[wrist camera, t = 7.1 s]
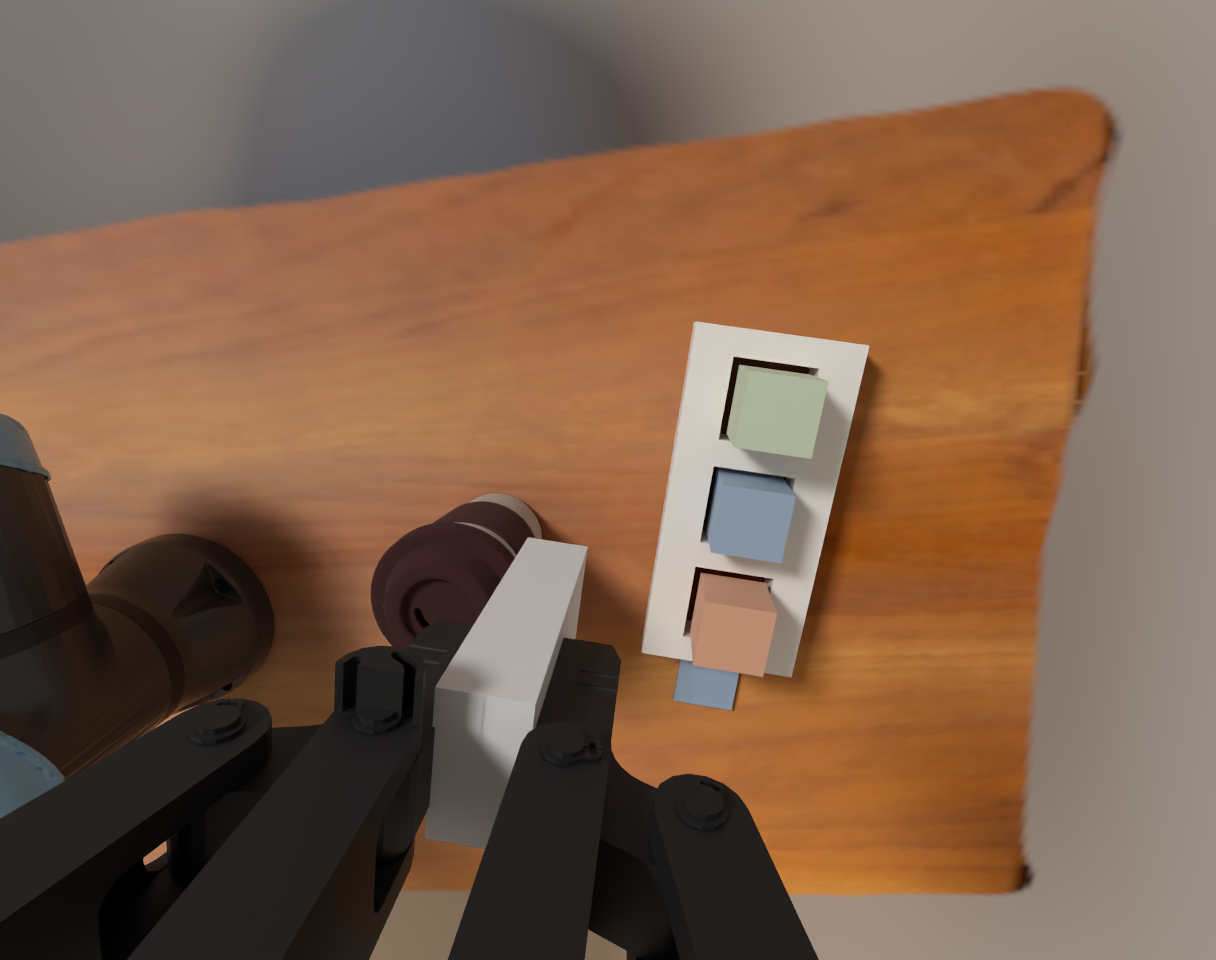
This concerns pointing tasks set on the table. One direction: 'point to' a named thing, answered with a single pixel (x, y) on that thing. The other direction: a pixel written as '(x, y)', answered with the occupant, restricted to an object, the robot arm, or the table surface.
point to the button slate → (749, 515)
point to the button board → (708, 448)
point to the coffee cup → (449, 566)
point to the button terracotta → (732, 624)
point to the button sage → (776, 411)
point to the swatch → (705, 686)
